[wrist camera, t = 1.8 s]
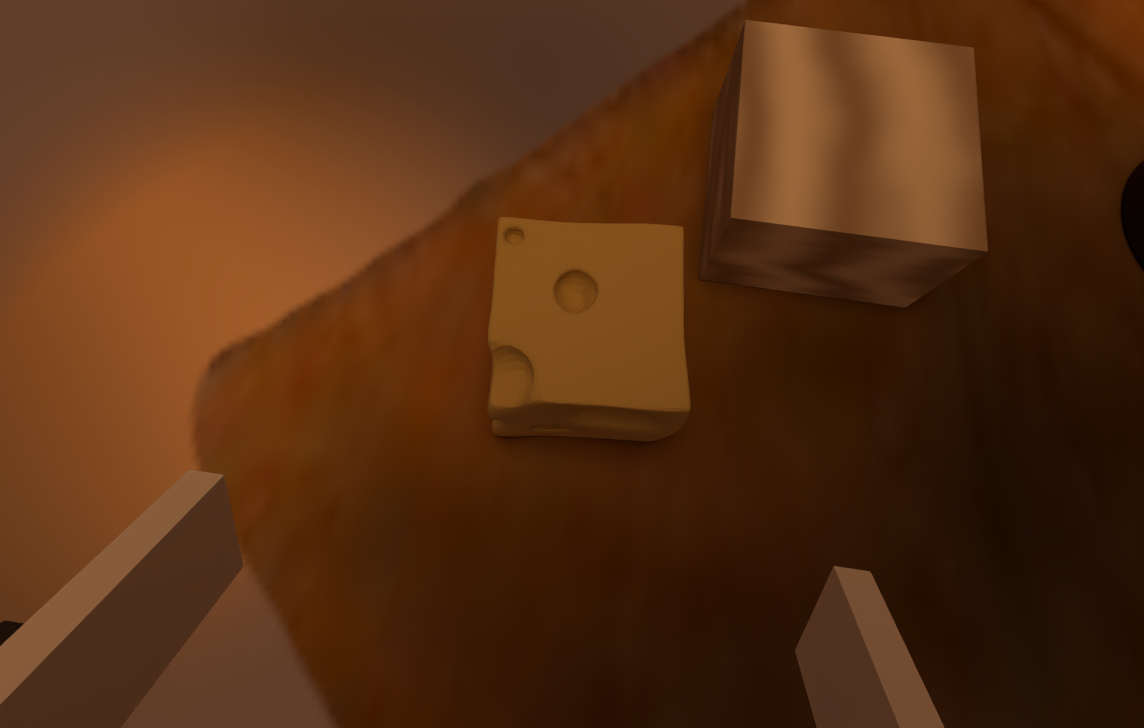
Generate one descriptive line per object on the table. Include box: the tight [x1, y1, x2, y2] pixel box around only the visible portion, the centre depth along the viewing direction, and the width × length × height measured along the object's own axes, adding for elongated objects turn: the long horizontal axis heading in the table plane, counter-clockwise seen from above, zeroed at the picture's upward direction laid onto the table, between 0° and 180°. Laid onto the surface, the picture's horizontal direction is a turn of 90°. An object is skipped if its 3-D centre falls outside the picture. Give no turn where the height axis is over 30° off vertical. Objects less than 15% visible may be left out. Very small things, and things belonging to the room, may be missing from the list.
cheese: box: [487, 217, 691, 442], centre depth 33 cm, size 10×11×10 cm
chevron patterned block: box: [699, 20, 988, 308], centre depth 38 cm, size 14×14×8 cm
